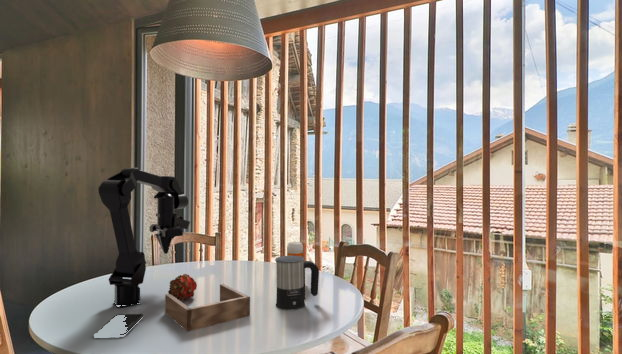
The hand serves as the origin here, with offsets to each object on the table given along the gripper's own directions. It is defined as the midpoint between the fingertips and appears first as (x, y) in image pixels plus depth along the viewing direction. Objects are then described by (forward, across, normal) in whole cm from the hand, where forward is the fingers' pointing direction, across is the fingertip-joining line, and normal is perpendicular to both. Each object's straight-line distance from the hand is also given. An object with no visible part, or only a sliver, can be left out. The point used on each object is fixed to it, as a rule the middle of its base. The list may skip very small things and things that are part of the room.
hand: (165, 253), depth 141 cm
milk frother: (+12, -42, -26) cm, 51 cm away
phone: (+13, -31, +22) cm, 40 cm away
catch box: (+12, -36, 0) cm, 38 cm away
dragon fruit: (+12, -17, 0) cm, 21 cm away
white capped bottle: (+12, -25, -40) cm, 49 cm away
